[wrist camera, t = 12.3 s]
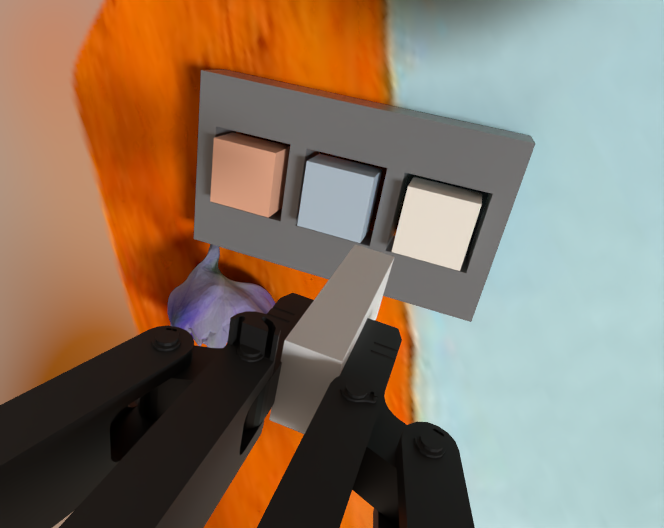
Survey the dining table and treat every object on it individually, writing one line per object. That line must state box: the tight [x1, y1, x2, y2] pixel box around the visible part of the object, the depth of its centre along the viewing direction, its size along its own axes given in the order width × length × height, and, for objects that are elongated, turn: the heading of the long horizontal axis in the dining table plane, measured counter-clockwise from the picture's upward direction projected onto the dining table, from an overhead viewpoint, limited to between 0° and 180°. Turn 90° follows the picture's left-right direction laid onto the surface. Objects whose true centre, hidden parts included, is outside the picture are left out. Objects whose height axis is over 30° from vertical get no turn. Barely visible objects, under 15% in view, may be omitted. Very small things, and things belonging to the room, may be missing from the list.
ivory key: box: [392, 177, 482, 271], centre depth 30 cm, size 4×4×3 cm
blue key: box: [297, 154, 383, 243], centre depth 31 cm, size 4×4×3 cm
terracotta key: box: [210, 133, 290, 217], centre depth 32 cm, size 4×4×3 cm
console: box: [194, 69, 535, 322], centre depth 32 cm, size 12×21×3 cm, turn 80°
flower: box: [168, 244, 276, 348], centre depth 37 cm, size 9×9×10 cm
